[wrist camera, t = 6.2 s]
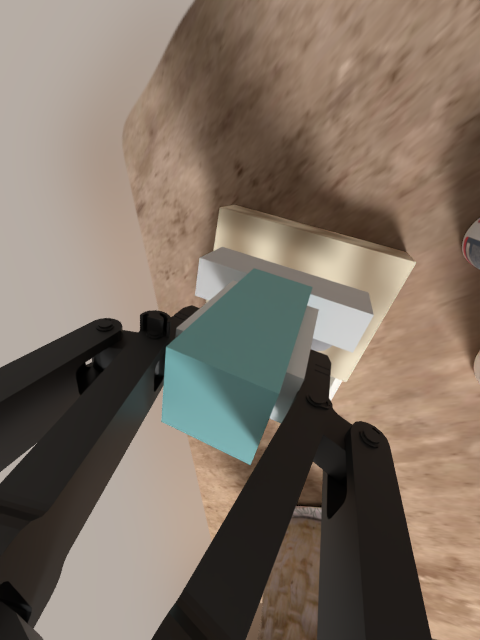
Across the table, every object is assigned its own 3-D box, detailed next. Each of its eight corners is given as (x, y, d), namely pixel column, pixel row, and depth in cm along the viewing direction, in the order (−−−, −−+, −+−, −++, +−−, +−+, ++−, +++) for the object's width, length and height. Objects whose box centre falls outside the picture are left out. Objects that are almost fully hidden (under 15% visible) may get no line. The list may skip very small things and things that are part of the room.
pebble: (342, 317, 25) (342, 334, 22) (329, 344, 27) (327, 363, 24) (309, 306, 26) (304, 320, 23) (298, 333, 28) (293, 349, 25)
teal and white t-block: (371, 286, 19) (418, 452, 7) (348, 330, 21) (355, 516, 9) (223, 240, 21) (72, 307, 9) (215, 284, 23) (84, 384, 11)
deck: (406, 252, 24) (416, 262, 21) (346, 361, 32) (346, 382, 28) (234, 204, 28) (219, 207, 25) (215, 312, 35) (202, 325, 32)
